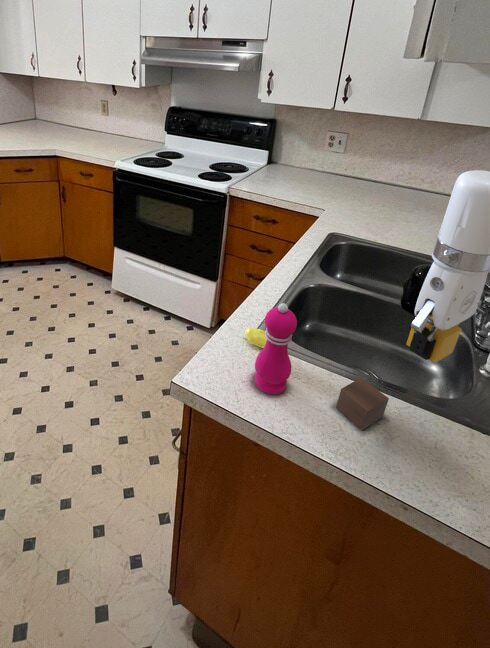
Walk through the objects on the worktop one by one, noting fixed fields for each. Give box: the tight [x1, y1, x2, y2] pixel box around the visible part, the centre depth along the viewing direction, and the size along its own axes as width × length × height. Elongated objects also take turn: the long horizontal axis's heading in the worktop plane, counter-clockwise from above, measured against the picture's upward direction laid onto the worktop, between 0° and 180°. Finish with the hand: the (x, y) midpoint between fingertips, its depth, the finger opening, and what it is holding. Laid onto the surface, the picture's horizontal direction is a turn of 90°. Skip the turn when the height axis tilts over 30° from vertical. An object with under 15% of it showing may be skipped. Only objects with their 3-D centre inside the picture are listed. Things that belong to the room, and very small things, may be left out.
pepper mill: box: [254, 302, 298, 395], centre depth 84 cm, size 7×7×20 cm
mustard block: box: [405, 316, 462, 364], centre depth 70 cm, size 5×5×5 cm
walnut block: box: [335, 377, 390, 431], centre depth 81 cm, size 6×6×5 cm
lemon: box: [244, 327, 267, 349], centre depth 98 cm, size 4×8×4 cm, turn 46°
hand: (429, 347), depth 71 cm, fingers closed on mustard block, 5 cm apart
